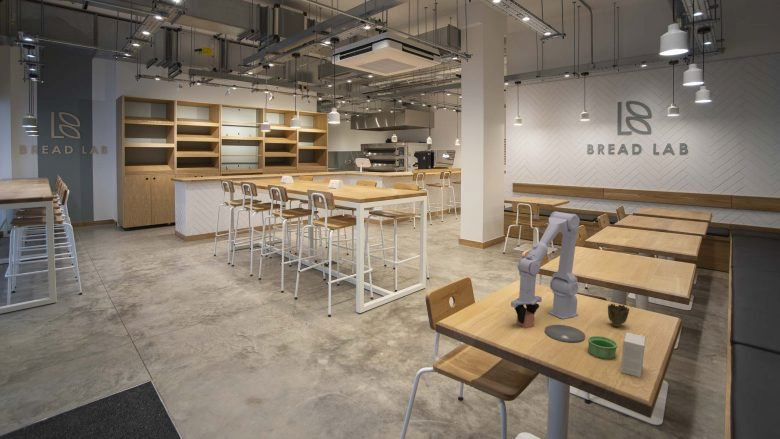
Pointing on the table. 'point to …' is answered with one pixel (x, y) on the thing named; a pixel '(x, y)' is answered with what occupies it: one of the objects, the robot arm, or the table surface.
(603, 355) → the ramekin
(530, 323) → the block
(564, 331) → the plate
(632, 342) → the small box
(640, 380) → the table surface
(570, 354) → the table surface
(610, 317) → the cup
